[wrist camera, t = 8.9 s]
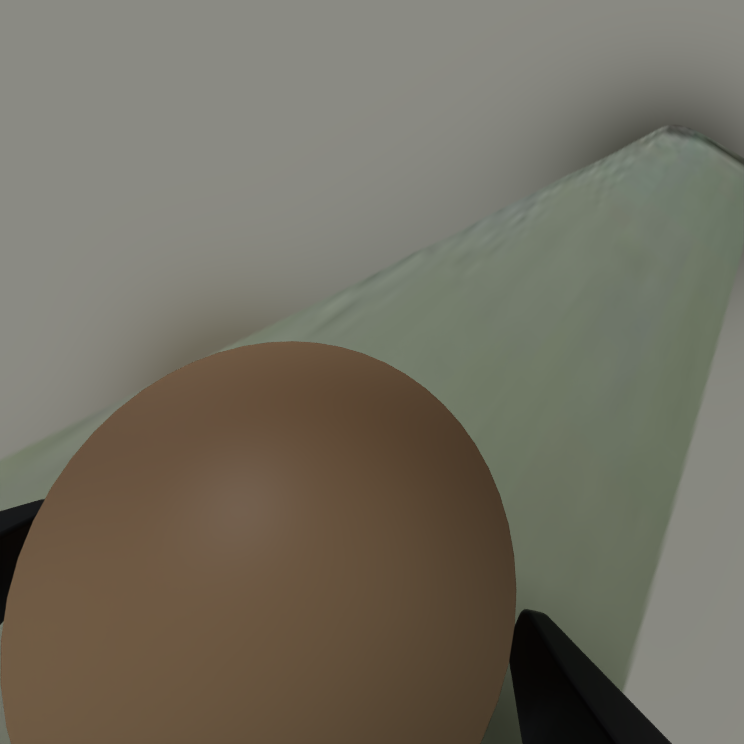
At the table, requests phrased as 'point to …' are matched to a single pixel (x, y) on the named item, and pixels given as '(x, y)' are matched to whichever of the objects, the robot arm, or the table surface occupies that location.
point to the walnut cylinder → (265, 566)
